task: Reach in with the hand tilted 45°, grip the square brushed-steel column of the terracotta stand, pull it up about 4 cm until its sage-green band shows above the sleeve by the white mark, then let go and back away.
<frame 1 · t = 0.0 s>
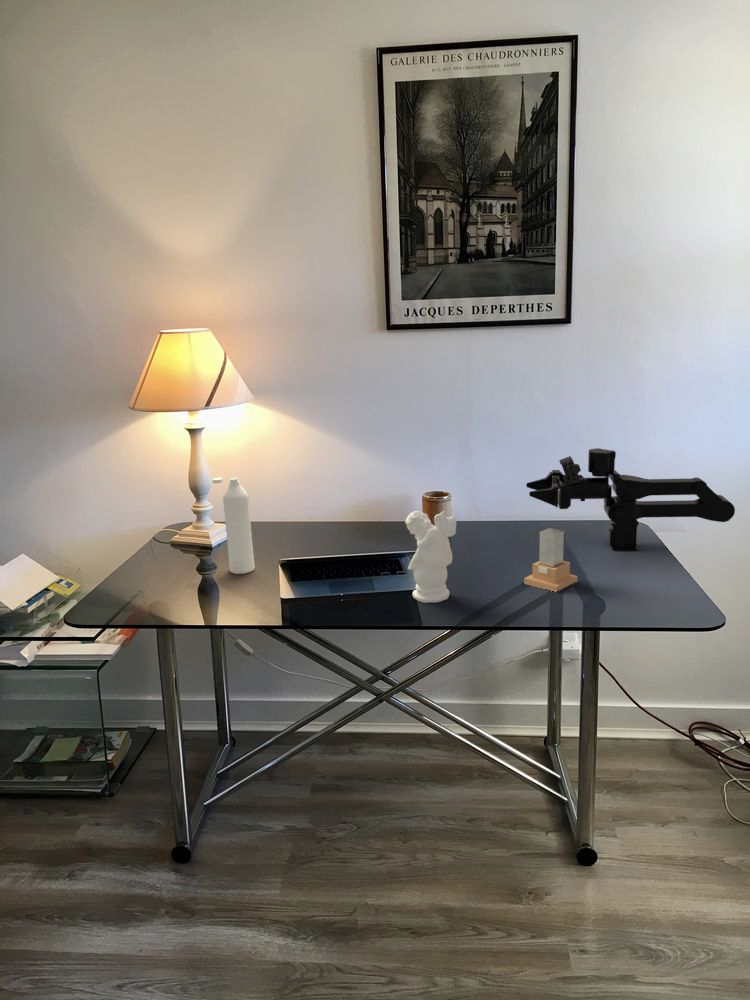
hand: (527, 489, 212), 17 cm above the table, tool horizontal, fingers open, 9 cm apart
column: (551, 554, 189), point 7 cm above the table, slide at 0.0 cm
cherub figurine: (437, 595, 187), on the table
water bottle: (238, 570, 209), on the table
stand: (550, 582, 191), on the table
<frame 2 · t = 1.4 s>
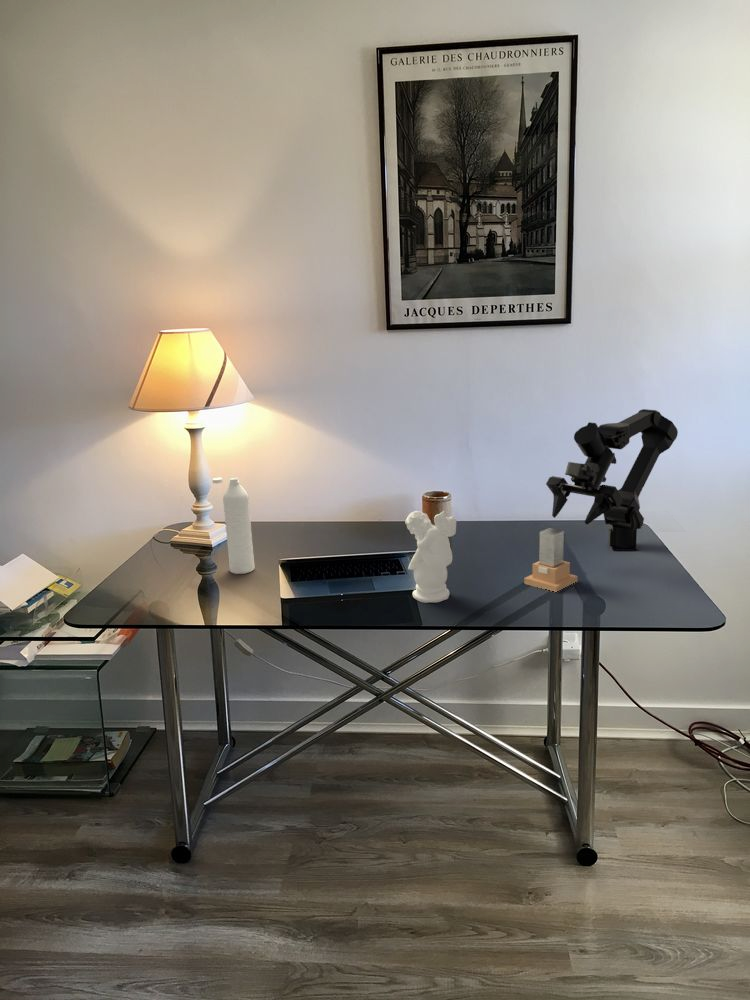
hand: (569, 520, 193), 14 cm above the table, tool tilted 45°, fingers open, 9 cm apart
nothing on the table moved.
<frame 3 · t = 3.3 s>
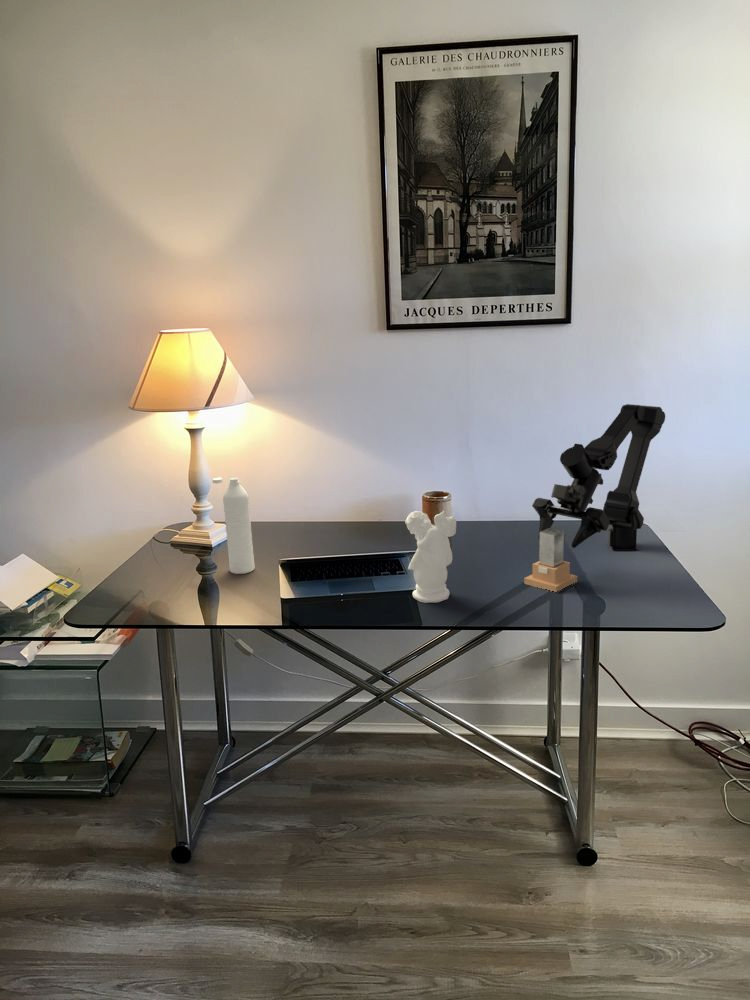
hand: (555, 543, 189), 10 cm above the table, tool tilted 45°, fingers open, 9 cm apart
nothing on the table moved.
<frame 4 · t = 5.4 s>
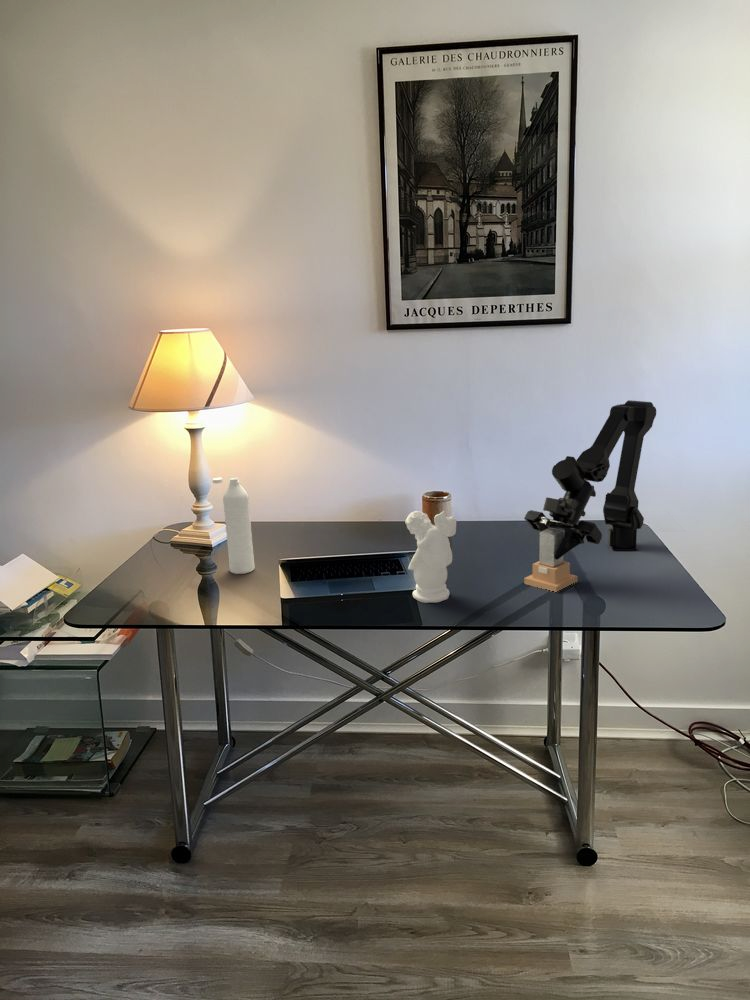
hand: (548, 556, 188), 7 cm above the table, tool tilted 45°, fingers closed on column, 4 cm apart
column: (551, 554, 189), point 7 cm above the table, slide at 0.0 cm, touching gripper
everything else where it was.
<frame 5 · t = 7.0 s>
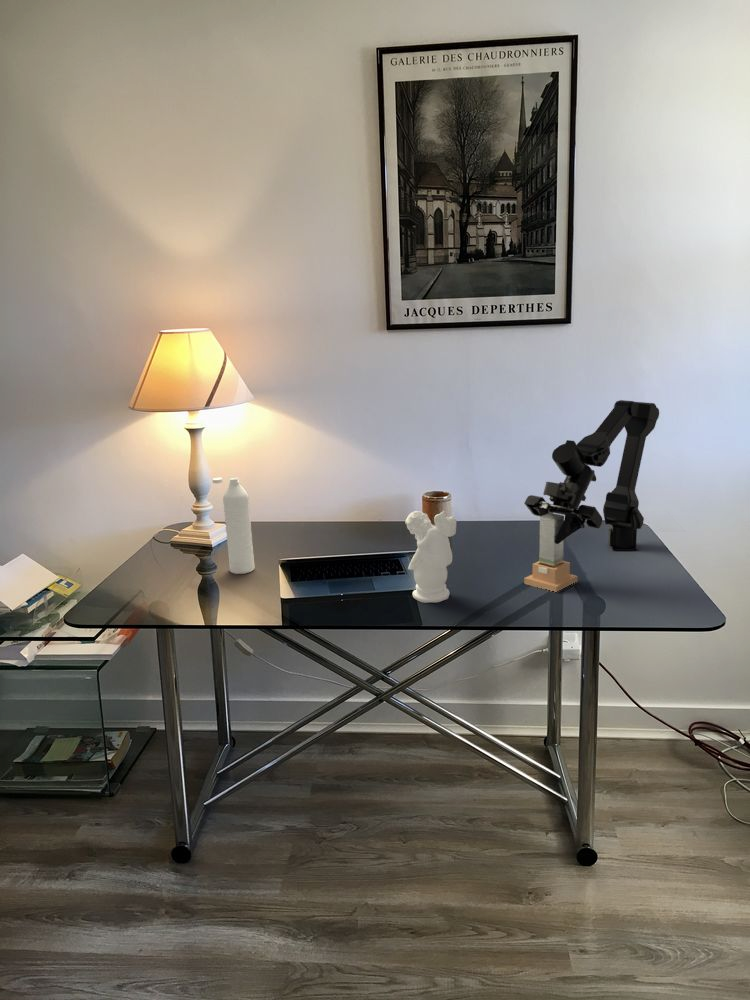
hand: (548, 541, 187), 11 cm above the table, tool tilted 45°, fingers closed on column, 4 cm apart
column: (551, 539, 188), point 11 cm above the table, slide at 3.8 cm, touching gripper
everything else where it was.
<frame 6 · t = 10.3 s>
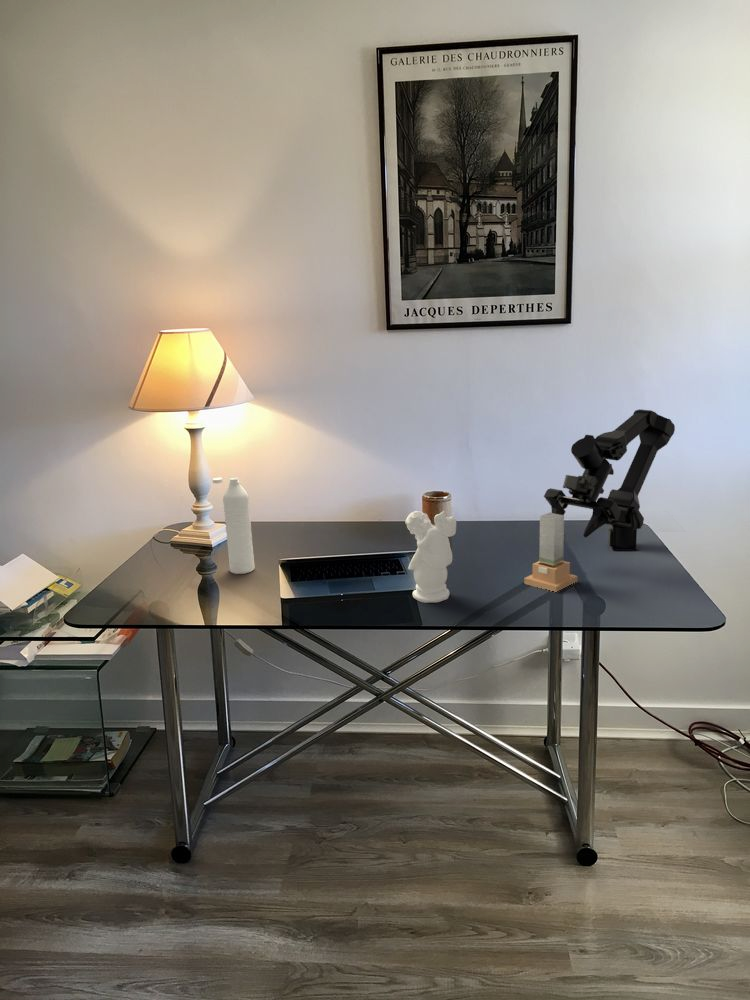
hand: (567, 533, 192), 11 cm above the table, tool tilted 45°, fingers open, 9 cm apart
column: (551, 538, 188), point 11 cm above the table, slide at 3.8 cm
everything else where it was.
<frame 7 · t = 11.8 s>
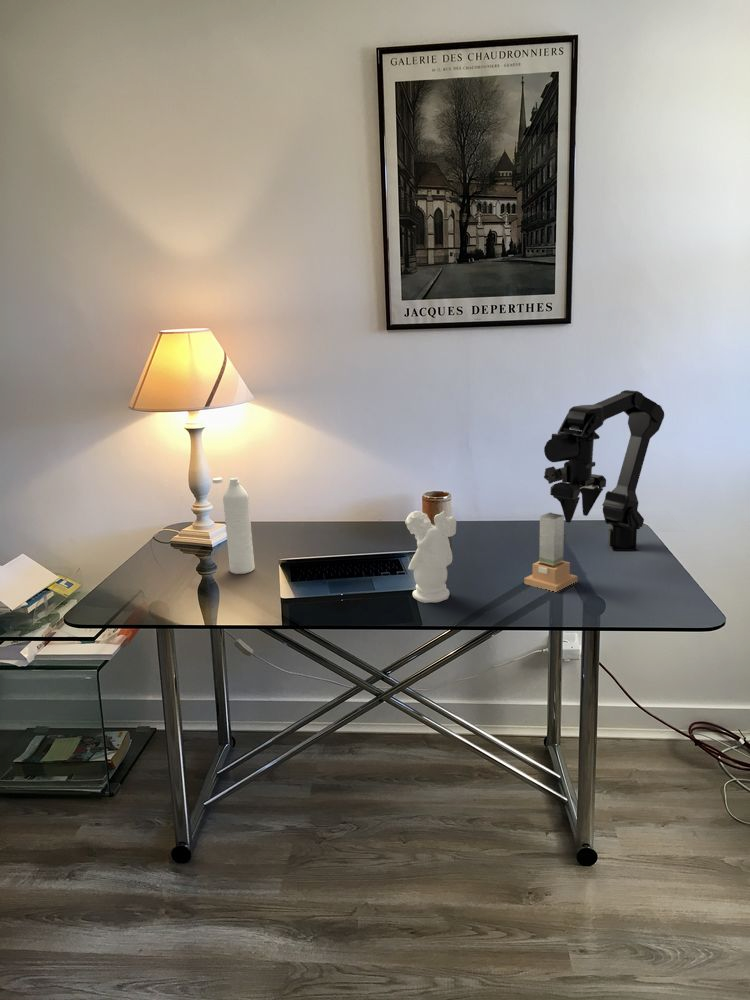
hand: (576, 518, 200), 12 cm above the table, tool pointing down, fingers open, 9 cm apart
nothing on the table moved.
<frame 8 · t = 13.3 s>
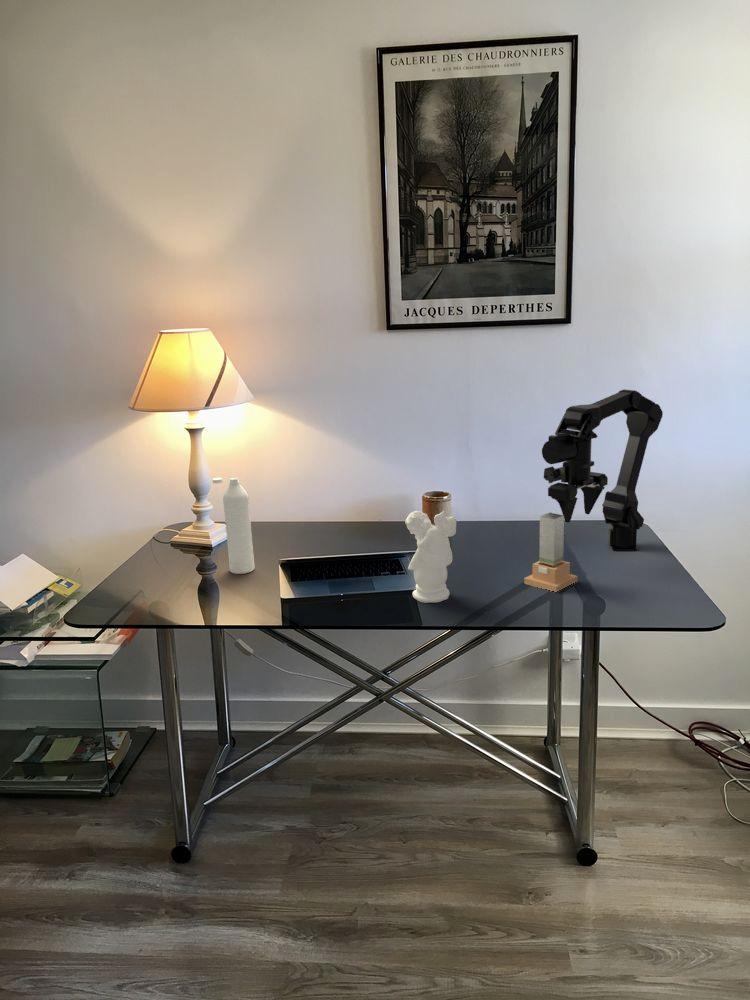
hand: (577, 518, 200), 12 cm above the table, tool pointing down, fingers open, 9 cm apart
nothing on the table moved.
at the end: column slide at 3.8 cm; the gripper is holding nothing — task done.
